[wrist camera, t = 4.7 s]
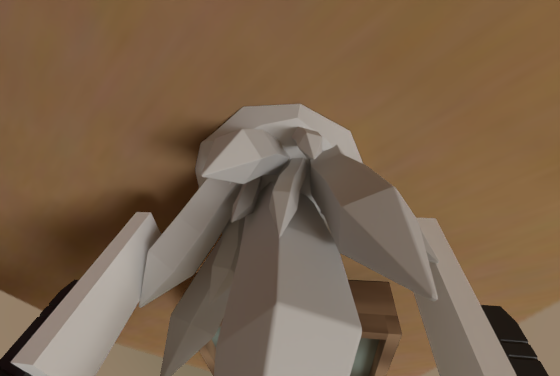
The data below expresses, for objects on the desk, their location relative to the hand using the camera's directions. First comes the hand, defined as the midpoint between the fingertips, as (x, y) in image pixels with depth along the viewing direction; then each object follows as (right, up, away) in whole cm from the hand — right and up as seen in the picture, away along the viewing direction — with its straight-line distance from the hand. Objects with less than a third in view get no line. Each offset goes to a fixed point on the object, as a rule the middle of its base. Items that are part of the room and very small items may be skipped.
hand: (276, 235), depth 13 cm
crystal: (0, +2, +3) cm, 4 cm away
